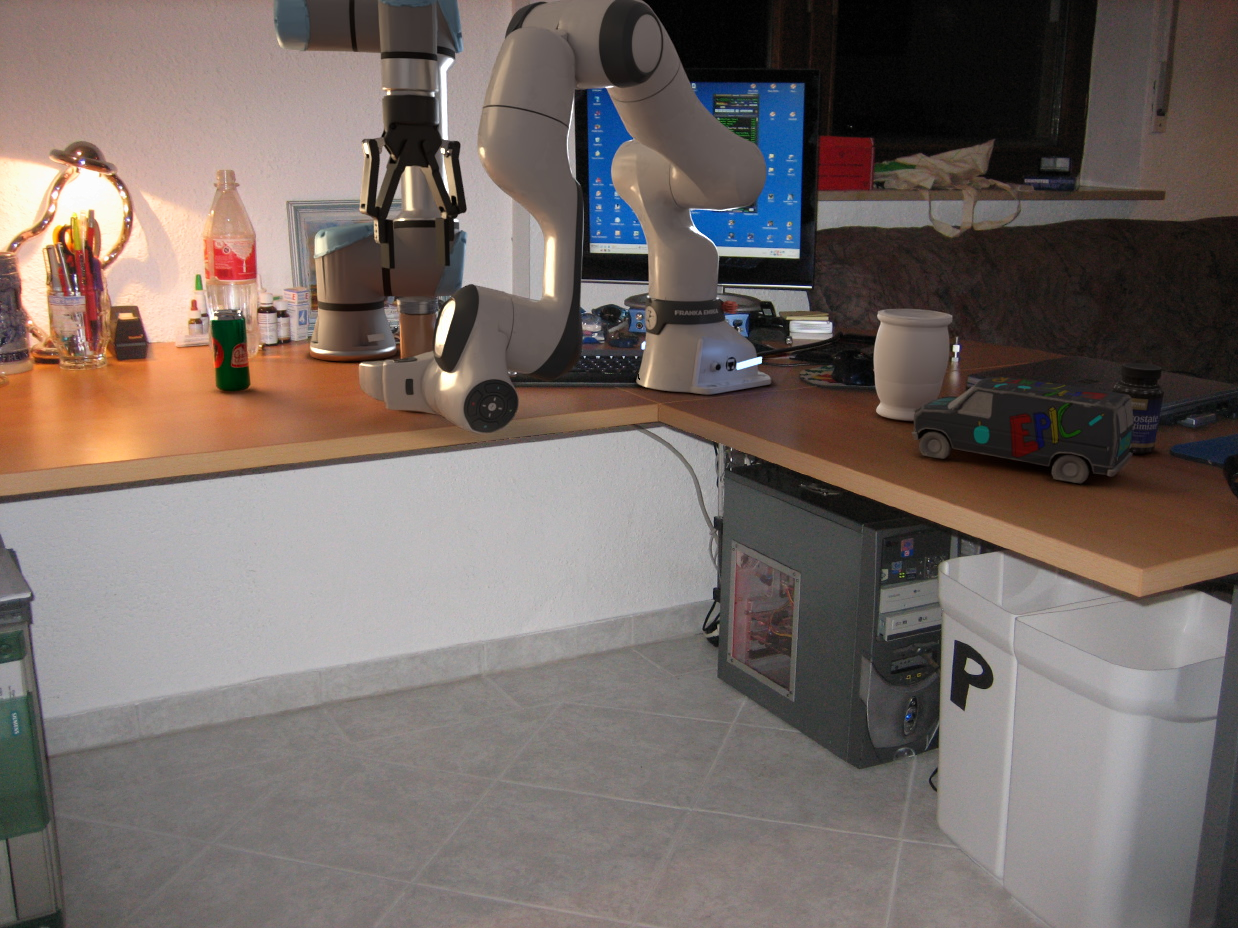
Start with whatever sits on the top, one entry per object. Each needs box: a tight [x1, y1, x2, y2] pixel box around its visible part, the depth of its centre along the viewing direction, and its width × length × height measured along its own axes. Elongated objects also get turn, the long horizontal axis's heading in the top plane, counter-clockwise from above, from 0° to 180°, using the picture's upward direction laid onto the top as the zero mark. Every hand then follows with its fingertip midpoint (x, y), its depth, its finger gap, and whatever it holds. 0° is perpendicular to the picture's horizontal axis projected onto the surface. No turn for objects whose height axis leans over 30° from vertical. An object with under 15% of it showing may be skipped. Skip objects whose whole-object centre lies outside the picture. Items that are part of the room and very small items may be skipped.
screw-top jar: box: [398, 312, 438, 413], centre depth 154 cm, size 5×5×16 cm
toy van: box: [911, 376, 1135, 484], centre depth 132 cm, size 11×25×10 cm, turn 54°
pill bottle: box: [1111, 362, 1165, 455], centre depth 139 cm, size 6×6×11 cm
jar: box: [873, 308, 953, 422], centre depth 154 cm, size 11×10×15 cm
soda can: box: [209, 308, 251, 393], centre depth 163 cm, size 5×5×12 cm
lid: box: [396, 296, 439, 314], centre depth 152 cm, size 6×6×2 cm
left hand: (416, 266), depth 150 cm, fingers open, 8 cm apart
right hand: (417, 363), depth 155 cm, fingers open, 7 cm apart
